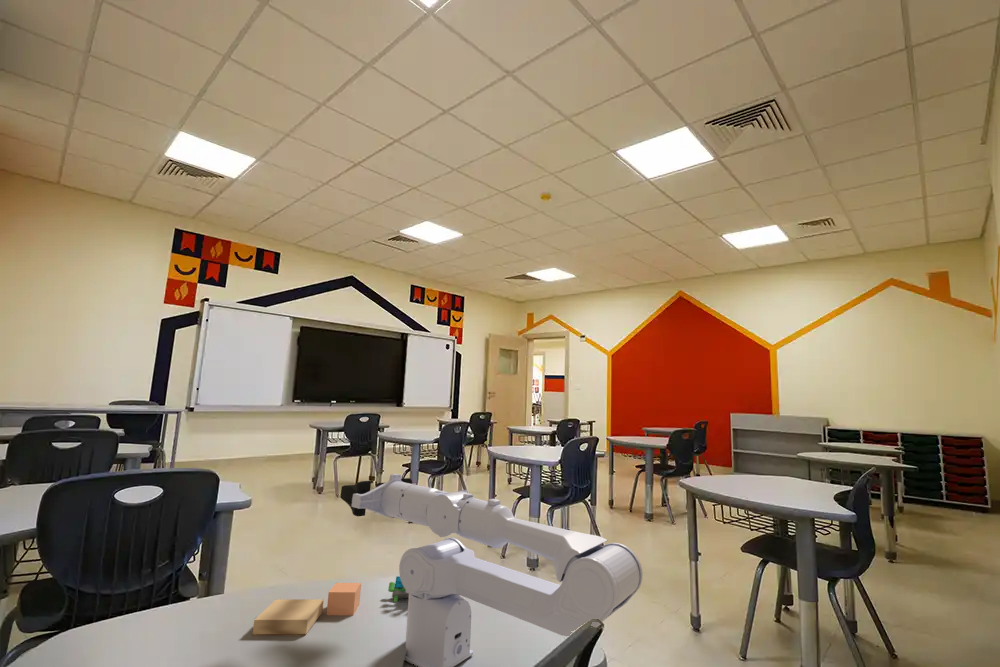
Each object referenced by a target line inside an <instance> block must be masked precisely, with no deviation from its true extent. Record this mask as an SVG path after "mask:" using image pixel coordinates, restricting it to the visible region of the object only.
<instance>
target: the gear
mask: <svg viewBox="0 0 1000 667" xmlns="http://www.w3.org/2000/svg"><path fill="white" fill-rule="evenodd" d="M387 590H388V593H389V592H390V593H391V598H393V602H394V603H397V602H398V601H399V600H400V599H409V593H406V589H405V588H404V586H403V584H402V582H401V579H400V575H398V576H395V581H394V582H393V581H390V582H389V583H388V589H387Z"/></svg>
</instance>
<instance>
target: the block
mask: <svg viewBox="0 0 1000 667" xmlns="http://www.w3.org/2000/svg"><path fill="white" fill-rule="evenodd" d="M361 588H362V582H335V583H334V585H332V586H331V588H330V590H329V591H328V596H327V606H326V616H355V613H356V612H357V610H358V608H359V607H360V603H361V590H362V589H361Z"/></svg>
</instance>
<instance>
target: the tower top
mask: <svg viewBox="0 0 1000 667" xmlns="http://www.w3.org/2000/svg"><path fill="white" fill-rule="evenodd" d="M324 601H325V600H324V599H319V598H317V599H315V598H314V599H313V598H311V599H305V598H304V599H299V598H298V599H292V598H291V599H290V598H287V599H282V598H281V599H278V598H277V599H275V600H273V602H272V603H271V604H269V605H268V606H267V608H265V609H264V610H263V611H262V612H261V613H260V614H259V615H258V616H257V617H255V619H253V620H254V621H253V628H252V629H253V630H252V633H253V634H306V635H307V634H308V633H309V631H310V629H311V628H312V627H313V625H314V624H315V623H316V622H317V620H318V619H319V617H320V616H321V615H322V614H323V609H324Z"/></svg>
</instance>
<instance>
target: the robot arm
mask: <svg viewBox="0 0 1000 667" xmlns="http://www.w3.org/2000/svg"><path fill="white" fill-rule="evenodd" d="M375 484H376V485H375V488H373V489H371V488H372V487H371V485H372V480H361V481H357V482H356V483H355V484H348V485H346V484H345V485H341V488H340V496H339V498H340V499H341V500H342V501H344V502H345V503H346V504H347V505H348V506H349V508H350V509H351V512H352V513H351V514H352V515H353V516H355V517H363V516H366V510H367V511H370V512H373V513H376V514H378V515H381V516H384V517H388V518H396V519H399V520H404V521H407V522H411V523H413V524H414V523H415V524H416V525H417V524H418V525H422V526H425V527H429V529H430V530H431V532H433V533H434V534H435V535H437V536H438V537H440V538H444V537H445V538H444V539H443V540H440V541H437V542H433V543H429V544H427V545H426V544H425V545H423V546H419V547H414V548H413V547H412V548H409V549H407V550H405V552H404V553H403V554H402V556H401V558H400V560H399V566H398V573H399V576H400V579H401V582H402V584H403V586H404V588H405V589H406V593H409V598H407V599H408V601H407V602H408V603H407V616H406V618H407V620H406V633H405V648H406V652H405V655H404V659H403V660H404V661H406V662H407V663H409V664H411V665H413V664H414V665H413V666H415V667H417V666H418V667H455V666H457V665H458V664H460V663H462V662H463V661H465V660H467V659H468V658H470V657H471V656H473V655H474V650H472V649H471V635H472V633H471V632H472V631H471V630H472V608H471V604H470V603H469V601H467V600H466V599H469V600H470V601H471V600H472V601H474V602H476V603H478V604H481V605H484V606H486V607H489V608H492V609H494V610H496V611H499V612H501V613H504V614H506V615H510V616H512V617H514V618H517V619H520V620H522V621H524V622H527V623H530V624H531V625H534V626H537V627H539V628H541V629H545V630H547V631H549V632H552V633H555V634H557V635H560V636H564V637H570V636H571V635H570V634H571V633H572V632H571V631H574V630H576V629H577V628H578V627H580V626H581V625H583V624H584V623H586V622H587V621H589V620H591V619H599V620H601V621H602V623H603V622H604V621H605V620H607V618H609V617H610V616H612V614H614V613H615V612H617V611H618V610H619V609H620V608H622V607H624V605H626V604H627V603H628V602H629V601H630V600H631V599H632V597H633V596H634V595H635V594H636V593H637V592H638V590H639V589H640V588H641V585H642V582H643V576H644V575H643V573H644V572H643V567H642V564H641V562H640V559H639V558H638V556H637V555H636V554H635V552H634V551H633V550H632V549H631V548H630V547H628V546H627V545H625V544H623V543H618V542H609V543H607V544H605V545H602V544H603V543H606V542H607V541H608V539H606V538H604V537H602V536H600V535H595V534H591V533H590V534H589V533H585V532H584V533H583V532H579V531H575V530H570V529H565V528H561V527H556V526H551V525H547V524H545V523H544V524H543V523H539V522H534V521H530V520H527V519H525V520H524V519H522V518H521V519H520V518H517V517H515V516H514V513H513V511H512V510H511V509H510V507H508V506H506V505H504V504H503V505H502V504H501V500H500V499H496V498H490V499H487V500H484V499H480V498H476V497H474V494H473V493H471V492H470V493H468V490H467V489H460V490H458V491H454V492H450V491H444V490H441V489H437V488H434V487H429V486H423V485H418V484H413V480H412V478H410V477H405V478H402V475H401V474H400V473H391V474H390V475H389V480H388V481H386V482H378V483H375ZM451 534H456V535H458V536H460V537H462V538H464V539H467V540H470V541H472V542H473V541H474V542H477V543H479V544H482V545H485V546H489V547H490V548H494V549H501V548H502V547H504V546H505V545H507V544H509V545H513V546H515V547H517V548H520V549H523V550H526V551H528V552H530V553H532V554H535V555H538V556H540V557H543V558H545V559H548V560H550V561H551V562H552V563H553V564H552V565H553V569H554V573H555V576H556V579H557V581H558V582H559V583H561V584H558V583H555V582H552V581H549V580H547V579H543V578H540V577H538V576H534V575H531V574H528V573H525V572H521V571H519V570H515V569H512V568H510V567H506V566H502V565H500V564H497V563H494V562H491V561H488V560H485V559H481V558H478V557H476V554H475V551H474V550H473V549H471V548H467V547H466V545H465V544H463V542H461V541H460V540H459V539H457V538H456V537H448V536H450V535H451ZM446 537H447V538H446ZM465 598H466V599H465ZM600 625H601V624H600V623H599V622H592V624H591V626H593V627H592V628H598V627H599V626H600Z"/></svg>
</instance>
